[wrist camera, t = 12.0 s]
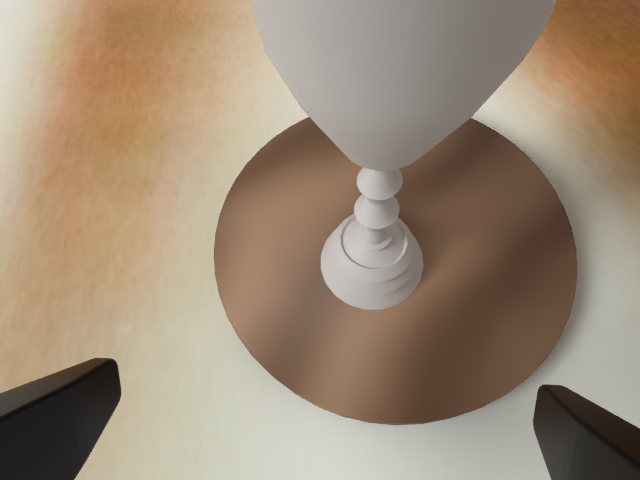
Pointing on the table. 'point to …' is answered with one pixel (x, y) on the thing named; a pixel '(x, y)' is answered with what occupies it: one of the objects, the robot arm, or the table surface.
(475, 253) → the serving board
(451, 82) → the chalice
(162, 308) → the table surface
